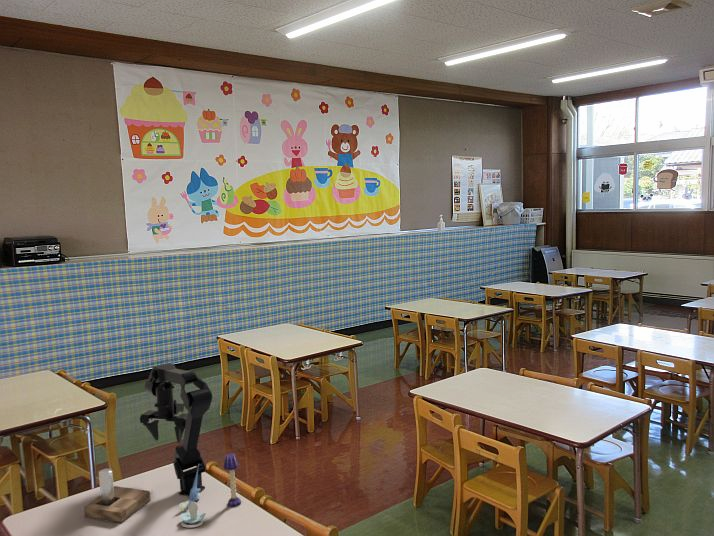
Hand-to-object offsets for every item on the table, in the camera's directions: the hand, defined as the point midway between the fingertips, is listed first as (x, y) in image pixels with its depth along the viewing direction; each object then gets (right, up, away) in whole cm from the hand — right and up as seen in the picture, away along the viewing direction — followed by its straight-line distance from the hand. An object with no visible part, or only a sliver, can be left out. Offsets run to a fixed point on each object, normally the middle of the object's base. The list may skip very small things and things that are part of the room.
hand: (168, 441), depth 211 cm
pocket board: (-10, -16, -20) cm, 27 cm away
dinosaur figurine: (+14, -15, -18) cm, 28 cm away
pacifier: (+17, -17, -30) cm, 38 cm away
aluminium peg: (-12, -16, -22) cm, 29 cm away
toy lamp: (+27, -15, -19) cm, 37 cm away
